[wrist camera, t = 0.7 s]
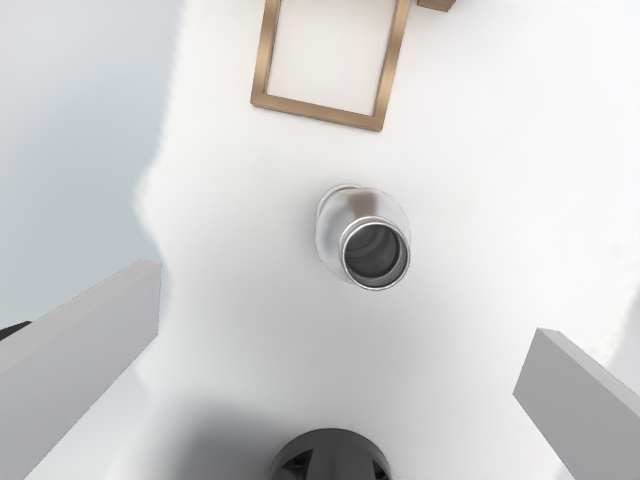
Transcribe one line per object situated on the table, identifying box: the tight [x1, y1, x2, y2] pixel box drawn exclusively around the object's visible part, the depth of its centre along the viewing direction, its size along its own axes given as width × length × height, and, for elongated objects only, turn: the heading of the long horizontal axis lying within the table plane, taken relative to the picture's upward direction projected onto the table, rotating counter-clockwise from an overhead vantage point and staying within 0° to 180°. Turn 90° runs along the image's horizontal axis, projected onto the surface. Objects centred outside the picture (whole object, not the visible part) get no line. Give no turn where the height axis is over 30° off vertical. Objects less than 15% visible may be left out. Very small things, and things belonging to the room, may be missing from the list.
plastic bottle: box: [315, 184, 411, 291], centre depth 28 cm, size 6×7×20 cm
